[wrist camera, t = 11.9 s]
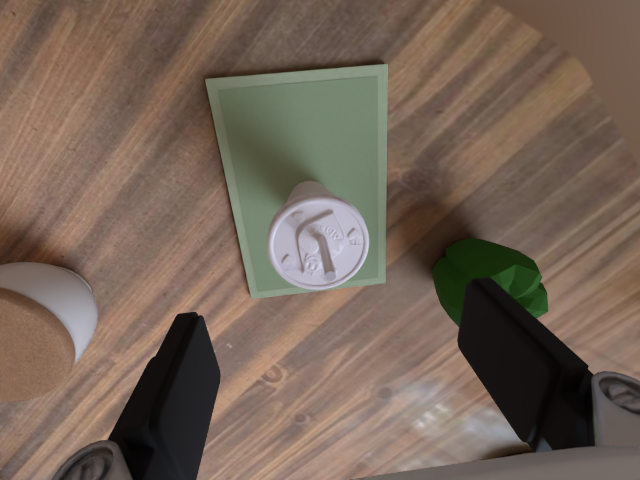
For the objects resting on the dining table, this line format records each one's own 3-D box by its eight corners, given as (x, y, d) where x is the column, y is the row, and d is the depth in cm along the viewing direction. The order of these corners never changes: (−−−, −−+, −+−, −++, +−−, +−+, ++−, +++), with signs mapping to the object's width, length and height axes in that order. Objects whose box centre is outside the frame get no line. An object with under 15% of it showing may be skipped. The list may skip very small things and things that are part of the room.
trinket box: (7, 331, 31) (-101, 419, 22) (-18, 234, 27) (-164, 296, 18) (122, 340, 32) (62, 425, 24) (115, 250, 28) (39, 314, 20)
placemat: (206, 79, 23) (204, 78, 23) (386, 64, 24) (388, 63, 23) (251, 296, 32) (251, 299, 31) (384, 280, 32) (385, 283, 32)
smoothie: (355, 179, 27) (414, 247, 14) (330, 241, 29) (360, 349, 16) (286, 154, 26) (282, 205, 13) (264, 221, 28) (243, 322, 15)
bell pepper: (408, 252, 31) (457, 313, 22) (484, 212, 30) (568, 259, 21) (436, 308, 34) (488, 382, 25) (505, 274, 33) (586, 339, 24)
